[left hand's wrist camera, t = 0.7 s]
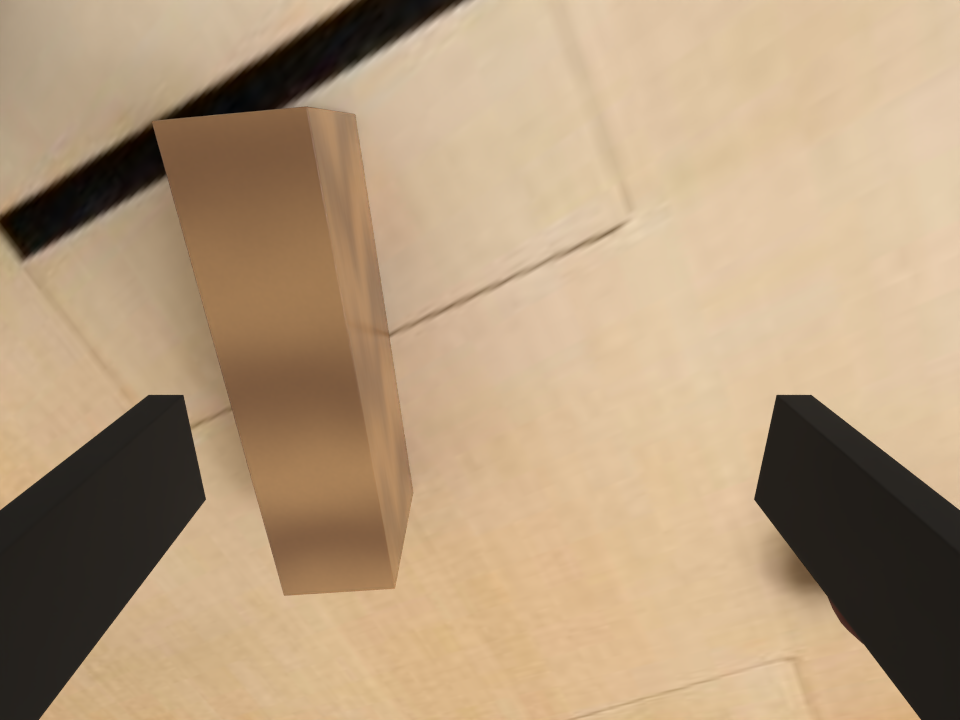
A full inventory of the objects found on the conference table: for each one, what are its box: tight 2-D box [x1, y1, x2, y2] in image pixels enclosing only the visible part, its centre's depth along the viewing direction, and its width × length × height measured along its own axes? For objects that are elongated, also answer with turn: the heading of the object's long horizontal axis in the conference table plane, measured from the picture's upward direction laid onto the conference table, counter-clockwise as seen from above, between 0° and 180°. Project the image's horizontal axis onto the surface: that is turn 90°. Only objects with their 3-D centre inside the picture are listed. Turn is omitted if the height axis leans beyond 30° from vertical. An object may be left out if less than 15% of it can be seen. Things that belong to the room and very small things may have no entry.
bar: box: [152, 107, 413, 596], centre depth 29 cm, size 23×6×9 cm, turn 5°
